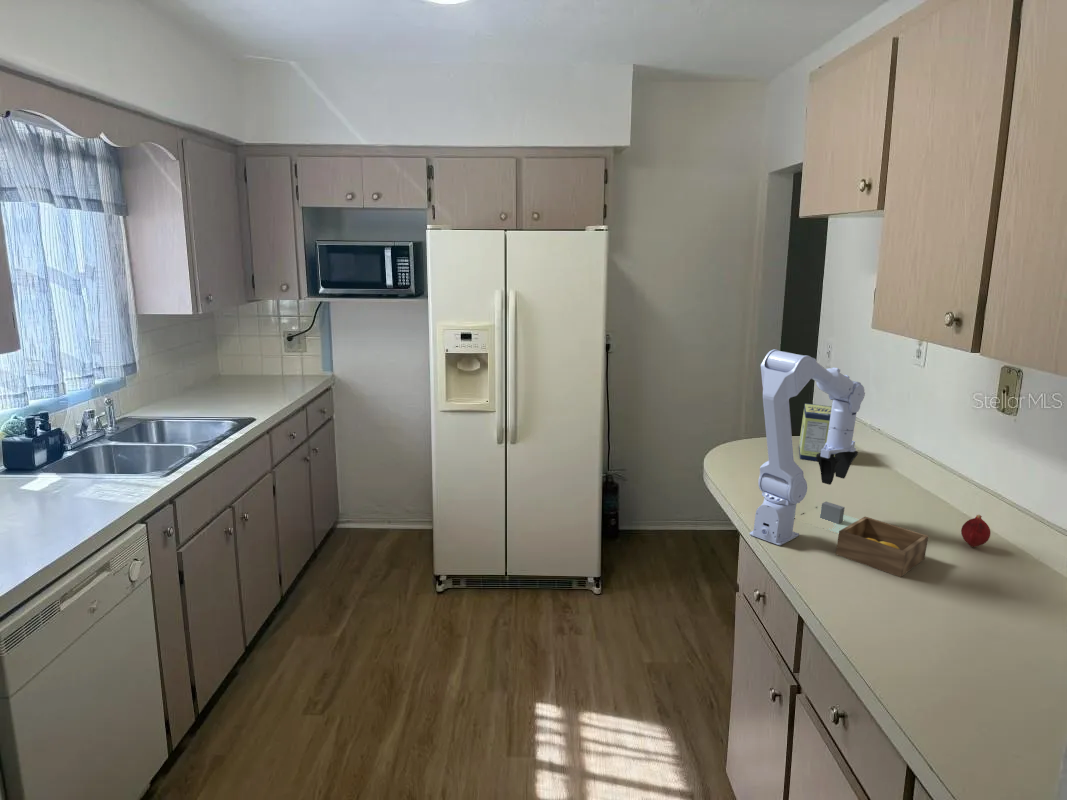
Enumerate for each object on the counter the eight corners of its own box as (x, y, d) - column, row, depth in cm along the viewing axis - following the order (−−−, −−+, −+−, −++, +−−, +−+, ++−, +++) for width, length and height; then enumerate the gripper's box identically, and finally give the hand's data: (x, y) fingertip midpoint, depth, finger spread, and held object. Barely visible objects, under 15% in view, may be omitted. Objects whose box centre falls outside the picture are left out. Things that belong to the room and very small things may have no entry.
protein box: (830, 450, 243) (837, 406, 240) (834, 464, 229) (841, 416, 225) (798, 446, 246) (804, 402, 243) (799, 459, 232) (806, 412, 228)
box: (900, 577, 152) (905, 552, 150) (835, 554, 161) (839, 531, 160) (924, 559, 161) (928, 535, 160) (861, 538, 171) (865, 516, 170)
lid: (845, 538, 172) (848, 520, 171) (792, 520, 181) (794, 502, 180) (869, 525, 181) (872, 507, 180) (817, 509, 191) (819, 491, 190)
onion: (989, 554, 166) (996, 521, 164) (961, 549, 167) (967, 517, 166) (983, 544, 171) (990, 513, 169) (956, 540, 173) (962, 508, 171)
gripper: (844, 436, 169) (836, 490, 172) (870, 427, 178) (861, 479, 182) (815, 429, 174) (808, 482, 177) (842, 420, 183) (834, 471, 187)
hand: (833, 480), depth 179 cm, fingers open, 7 cm apart
